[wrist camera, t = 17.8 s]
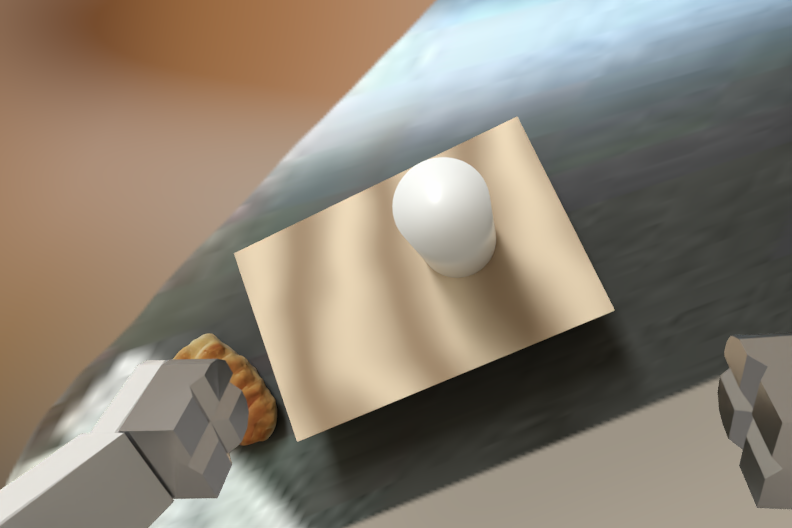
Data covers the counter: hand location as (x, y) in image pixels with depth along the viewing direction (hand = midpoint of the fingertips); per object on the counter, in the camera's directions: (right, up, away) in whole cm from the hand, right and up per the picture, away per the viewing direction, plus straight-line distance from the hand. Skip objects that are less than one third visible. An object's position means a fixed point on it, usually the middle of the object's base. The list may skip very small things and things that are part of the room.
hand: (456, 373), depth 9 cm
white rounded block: (+3, +3, +27) cm, 28 cm away
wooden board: (+1, 0, +32) cm, 33 cm away
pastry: (-14, -8, +35) cm, 39 cm away
